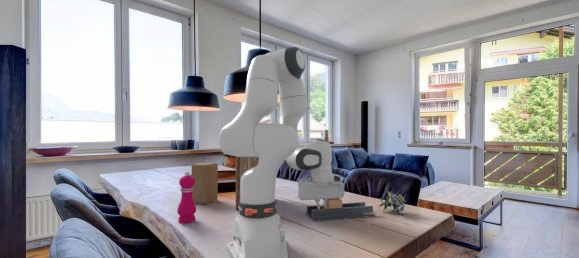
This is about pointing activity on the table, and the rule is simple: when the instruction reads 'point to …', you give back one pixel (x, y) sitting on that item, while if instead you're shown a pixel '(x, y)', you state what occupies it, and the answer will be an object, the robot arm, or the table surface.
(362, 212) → the chute
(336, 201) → the block
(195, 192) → the wooden block
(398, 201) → the grey-green leafy rounded clump
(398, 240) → the table surface
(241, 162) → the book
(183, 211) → the pepper mill
